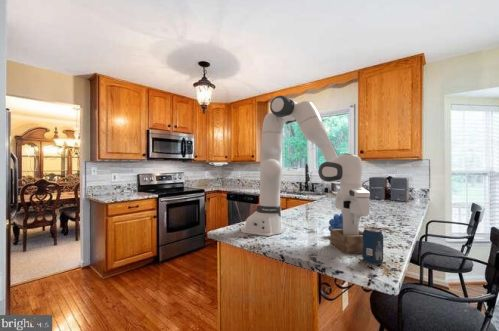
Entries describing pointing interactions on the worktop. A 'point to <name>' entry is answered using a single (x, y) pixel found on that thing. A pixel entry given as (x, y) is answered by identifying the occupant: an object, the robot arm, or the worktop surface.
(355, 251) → the wooden cubby frame
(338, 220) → the grapes
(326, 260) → the worktop surface
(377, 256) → the soda can
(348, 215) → the travel mug
